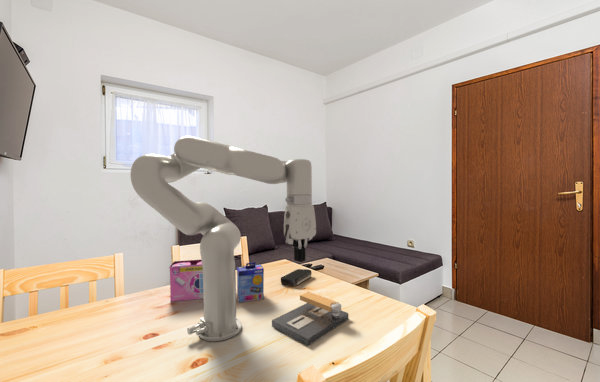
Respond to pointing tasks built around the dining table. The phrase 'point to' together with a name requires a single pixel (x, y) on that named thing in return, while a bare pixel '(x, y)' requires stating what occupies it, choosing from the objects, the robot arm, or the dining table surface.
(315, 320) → the grey flat block
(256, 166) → the robot arm
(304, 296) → the swing arm
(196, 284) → the gum box
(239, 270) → the ink cartridge box
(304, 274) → the black sponge
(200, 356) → the dining table surface
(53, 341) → the dining table surface
